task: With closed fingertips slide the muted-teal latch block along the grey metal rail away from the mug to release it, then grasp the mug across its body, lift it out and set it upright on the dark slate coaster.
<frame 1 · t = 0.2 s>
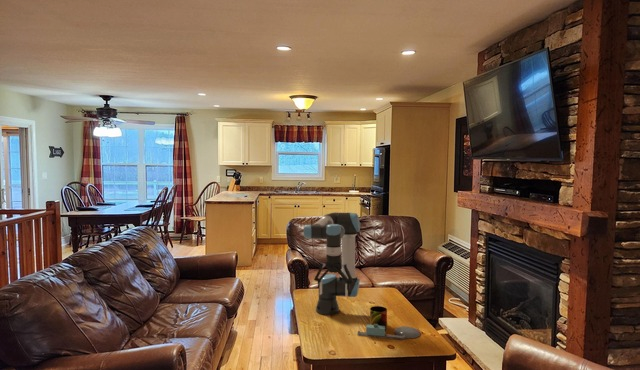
hand: (333, 294, 196), 27 cm above the table, fingers open, 13 cm apart
coaster: (407, 332, 213), on the table
latch block: (375, 329, 209), point 4 cm above the table, slide at 0.0 cm
mug: (377, 328, 220), on the table
rail: (381, 336, 209), on the table
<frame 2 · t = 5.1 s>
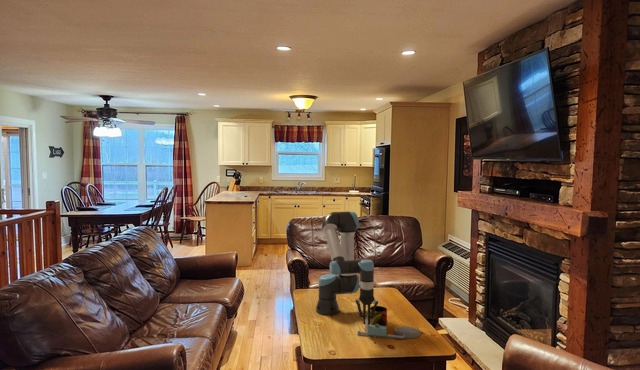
hand: (366, 329, 210), 3 cm above the table, fingers closed
latch block: (377, 329, 209), point 4 cm above the table, slide at 0.8 cm, touching gripper
everything else where it was.
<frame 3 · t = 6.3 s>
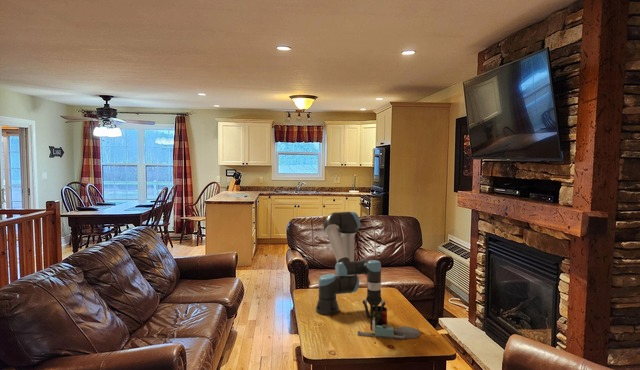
hand: (373, 330, 209), 3 cm above the table, fingers closed
latch block: (384, 330, 208), point 4 cm above the table, slide at 4.7 cm, touching gripper
everything else where it was.
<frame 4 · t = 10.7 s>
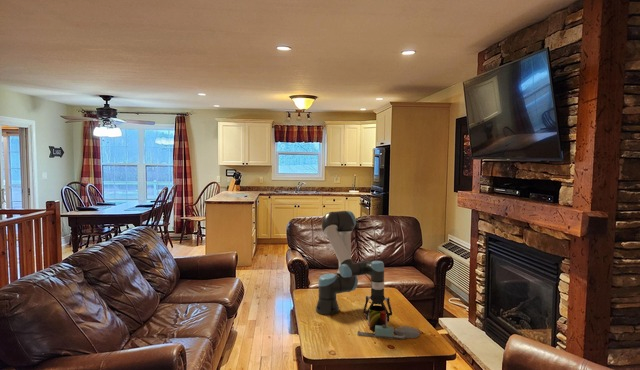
hand: (377, 325, 220), 1 cm above the table, fingers closed on mug, 10 cm apart
latch block: (384, 330, 208), point 4 cm above the table, slide at 4.7 cm
mug: (376, 327, 221), on the table, touching gripper
when the fingers open (3 cm above the table, at t = 16.8 s): mug stays where it is, resting on coaster.
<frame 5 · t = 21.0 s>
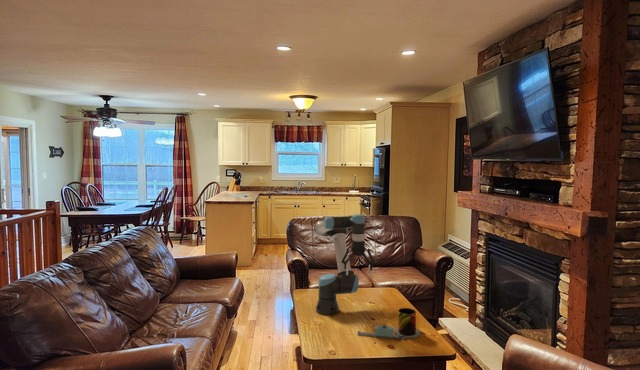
hand: (358, 275, 227), 29 cm above the table, fingers open, 13 cm apart
mug: (405, 330, 215), point 1 cm above the table, touching coaster
everything else where it was.
at the end: latch block slide at 4.7 cm; mug 1.4 cm from the coaster (horizontally); mug tilted 0° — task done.
